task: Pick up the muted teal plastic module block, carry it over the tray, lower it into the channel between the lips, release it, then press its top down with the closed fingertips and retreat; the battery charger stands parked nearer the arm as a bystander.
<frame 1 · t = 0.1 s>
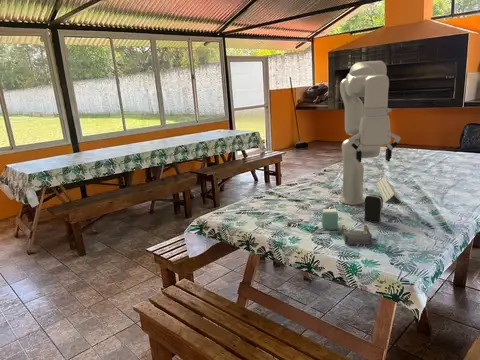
hand: (373, 161, 126), 31 cm above the table, fingers open, 9 cm apart
corner bead: (387, 194, 187), on the table
module: (329, 226, 149), on the table
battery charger: (373, 220, 153), on the table
tray: (356, 238, 138), on the table
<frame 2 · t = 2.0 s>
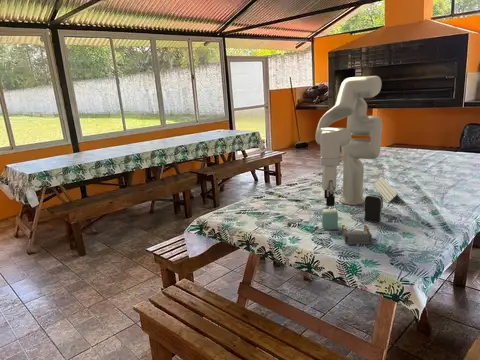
hand: (329, 201, 146), 11 cm above the table, fingers open, 9 cm apart
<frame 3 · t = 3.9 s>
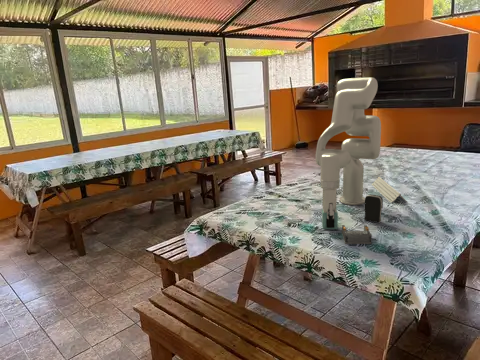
hand: (329, 224, 149), 1 cm above the table, fingers closed on module, 4 cm apart
module: (329, 226, 149), on the table, touching gripper
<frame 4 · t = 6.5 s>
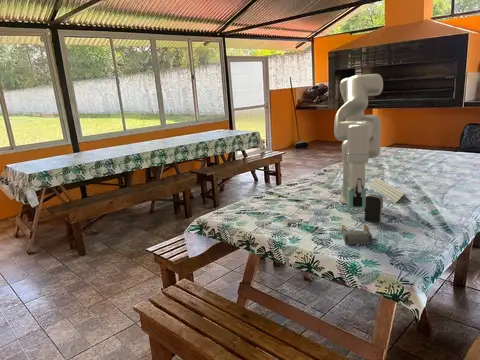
hand: (356, 203, 135), 14 cm above the table, fingers closed on module, 4 cm apart
module: (356, 206, 135), point 13 cm above the table, touching gripper
when the fingers open (3 cm above the table, at t = 9.0 s): module drops 1 cm, resting on tray.
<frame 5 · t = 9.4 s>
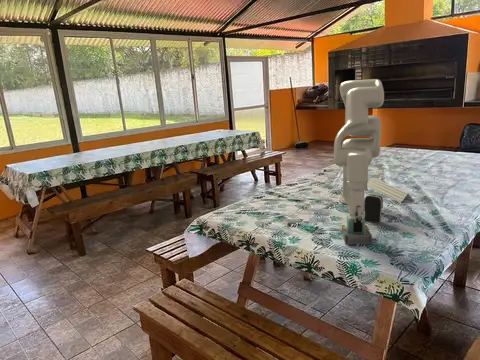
hand: (355, 226, 138), 4 cm above the table, fingers open, 9 cm apart
module: (355, 234, 139), point 1 cm above the table, touching tray
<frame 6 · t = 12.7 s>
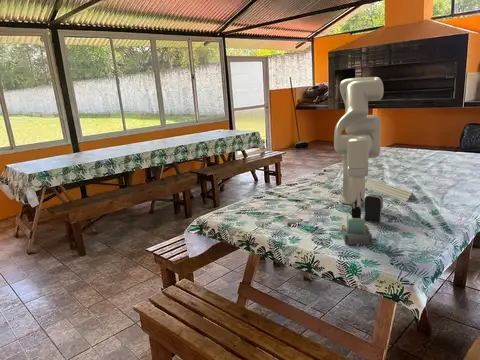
hand: (356, 217, 136), 8 cm above the table, fingers closed
module: (355, 234, 139), point 1 cm above the table, touching gripper, tray
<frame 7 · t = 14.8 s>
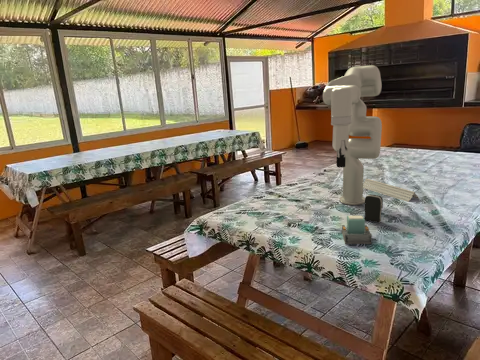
hand: (340, 166, 141), 26 cm above the table, fingers closed
module: (355, 234, 139), point 1 cm above the table, touching tray
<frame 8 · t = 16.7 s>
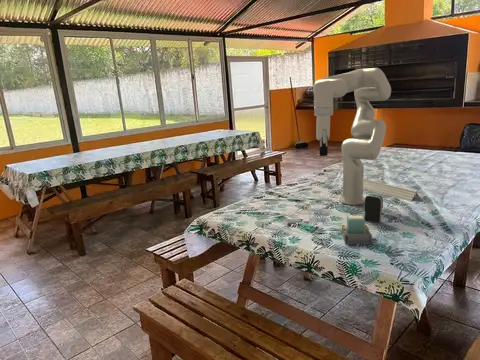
hand: (323, 155, 149), 29 cm above the table, fingers closed
at the end: module inside the target area on the tray (1.1 cm from its centre), point 0.8 cm above the tray's base; module tilted 0°; the gripper is holding nothing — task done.
